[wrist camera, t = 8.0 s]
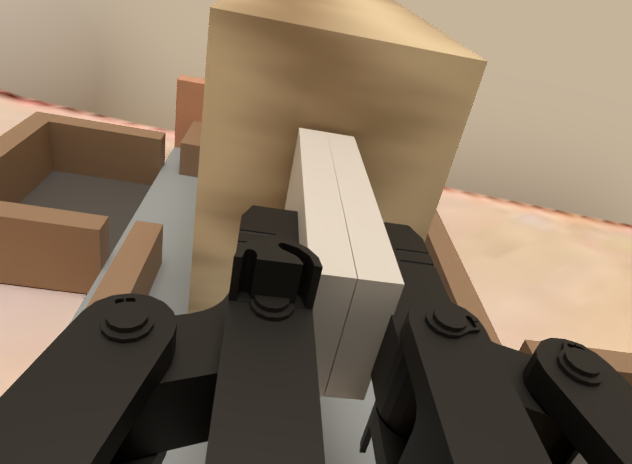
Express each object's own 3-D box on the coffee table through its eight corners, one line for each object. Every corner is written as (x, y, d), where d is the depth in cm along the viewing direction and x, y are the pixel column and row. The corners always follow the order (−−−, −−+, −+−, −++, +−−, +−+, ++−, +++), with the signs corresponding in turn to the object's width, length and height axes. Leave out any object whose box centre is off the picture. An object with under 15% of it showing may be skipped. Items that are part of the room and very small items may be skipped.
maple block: (351, 175, 30) (393, -1, 26) (387, 349, 18) (487, 61, 13) (236, 157, 30) (257, -29, 25) (187, 324, 17) (210, 7, 12)
